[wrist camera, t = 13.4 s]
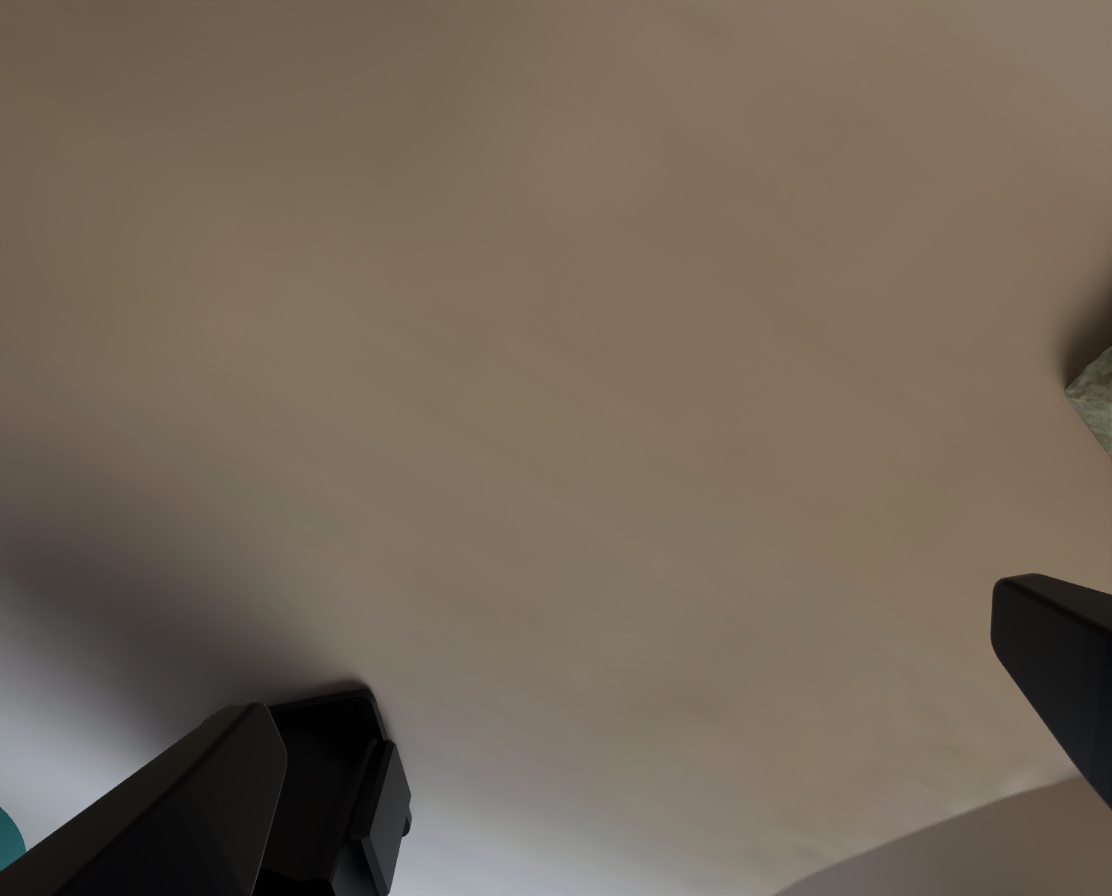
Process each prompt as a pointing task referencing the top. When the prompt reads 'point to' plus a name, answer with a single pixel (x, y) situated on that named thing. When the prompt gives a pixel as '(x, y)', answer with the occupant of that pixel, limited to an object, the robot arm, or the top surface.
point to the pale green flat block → (1095, 398)
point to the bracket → (9, 841)
